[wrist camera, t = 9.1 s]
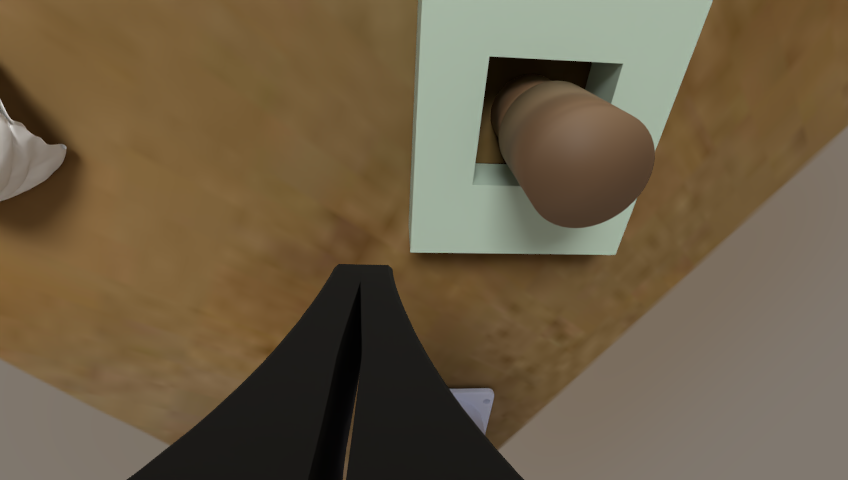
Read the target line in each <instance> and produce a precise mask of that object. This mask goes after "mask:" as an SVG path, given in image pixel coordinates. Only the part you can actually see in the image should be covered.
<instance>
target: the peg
mask: <svg viewBox="0 0 848 480" xmlns="http://www.w3.org/2000/svg"><path fill="white" fill-rule="evenodd" d="M491 123H492V126H493V129H494V131H495V133H496V134H497V136H498V137H499V147H500V151H501V154H502V156H503V158H504V160H505V162H506V163H507V165H508V167H509V168H510V170H511V171H512V173H513V175H514V176H515V178H516V179H517V181H518V183H519V184H520V186H521V187H522V189H523V190H524V192H525V194H526V195H527V197H528V198H529V200H530V202H531V203H532V205H533V206H534V208H535V210H536V211H537V212H538V213H539V214H540V215H541V216H542V217H543V218H544V219H546V220H547V221H549V222H551V223H553V224H555V225H558V226H561V227H567V228H585V227H590V226H594V225H597V224H600V223H603V222H605V221H608V220H610V219H611V218H613V217H615V216H617V215H618V214H620V213H621V212H622V211H624V210H625V209H626V208H628V207H629V206H630V205H631V204H632V203H633V202H634V201H635V200H636V198H637V197H638V196H639V195H640V194H641V192H642V191H643V189H644V188H645V186H646V184H647V182H648V180H649V178H650V176H651V173H652V170H653V166H654V160H655V149H654V142H653V139H652V136H651V134H650V132H649V131H648V129H647V128H646V126H645V125H644V124H643V123H642V122H641V121H640V120H639V119H637V118H636V117H634V116H632V115H631V114H629V113H627V112H625V111H623V110H621V109H620V108H618V107H616V106H614V105H612V104H610V103H609V102H607V101H605V100H603V99H601V98H599V97H598V96H596V95H594V94H592V93H590V92H588V91H587V90H585V89H583V88H581V87H579V86H577V85H575V84H573V83H570V82H566V81H551V80H549V79H548V78H546V77H544V76H541V75H537V74H526V75H522V76H519V77H516V78H514V79H512V80H511V81H509V82H508V83H507V84H506V85H504V86H503V88H502V89H501V90H500V91H499V92H498V94H497V96H496V97H495V100H494V102H493V105H492V109H491Z"/></svg>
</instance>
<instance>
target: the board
mask: <svg viewBox="0 0 848 480" xmlns="http://www.w3.org/2000/svg"><path fill="white" fill-rule="evenodd" d="M712 1H713V0H418V18H417V42H416V65H415V89H414V113H413V137H412V161H411V184H410V208H409V238H410V252H418V253H500V254H582V255H615V254H616V252H617V249H618V246H619V244H620V241H621V239H622V236H623V233H624V231H625V228H626V226H627V223H628V220H629V218H630V215H631V213H632V210H633V207H634V205H635V202H636V200H637V198H636V200H635V201H634V202H633V203H632V204H631V205H630V206H629V207H628V208H626V209H625V210H624V211H622V212H621V213H620V214H618V215H617V216H615V217H613V218H611V219H610V220H608V221H605V222H603V223H600V224H597V225H594V226H590V227H585V228H567V227H561V226H558V225H555V224H553V223H551V222H549V221H547V220H546V219H544V218H543V217H542V216H541V215H540V214H539V213H538V212H537V211H536V210H535V208H534V206H533V205H532V203H531V202H530V200H529V198H528V197H527V195H526V194H525V192H524V190H523V189H522V187H521V186H520V184H519V183H518V181H517V179H516V178H515V176H514V175H513V173H512V171H511V170H510V168H509V167H508V165H507V164H479V163H475V161H476V154H477V146H478V139H479V131H480V124H481V116H482V109H483V101H484V94H485V86H486V79H487V71H488V64H489V56H492V57H510V58H529V59H547V60H566V61H584V62H592V65H591V69H590V72H589V76H588V80H587V84H586V88H585V90H587V91H588V92H590V93H592V94H594V95H596V96H598V97H599V98H601V99H603V100H605V101H607V102H609V103H610V104H612V105H614V106H616V107H618V108H620V109H621V110H623V111H625V112H627V113H629V114H631V115H632V116H634V117H636V118H637V119H639V120H640V121H641V122H642V123H643V124H644V125H645V126H646V128H647V129H648V131H649V132H650V134H651V136H652V139H653V142H654V149H655V150H656V147H657V145H658V142H659V140H660V137H661V134H662V132H663V129H664V126H665V124H666V121H667V119H668V116H669V113H670V111H671V108H672V106H673V103H674V100H675V98H676V95H677V93H678V90H679V87H680V85H681V82H682V80H683V77H684V74H685V72H686V69H687V66H688V64H689V61H690V59H691V56H692V53H693V51H694V48H695V46H696V43H697V40H698V38H699V35H700V33H701V30H702V27H703V25H704V22H705V20H706V17H707V14H708V12H709V9H710V7H711V4H712Z"/></svg>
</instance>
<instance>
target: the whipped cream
mask: <svg viewBox="0 0 848 480" xmlns="http://www.w3.org/2000/svg"><path fill="white" fill-rule="evenodd" d="M66 149H67V148H66V146H65V145H64V144H57V145H48V144H46V143H45V142H44V141H43V140H42V138H40V137H37V136H35V135H33V134H32V133H30V132H29V131H28V130H27V129H26V127H25V126H24V125H23V124H22V123H21V122H17V121H13V120H12V119H11V118H10V117H9V116H8V114H7V112H6V110H5V108H4V106H3V104H2V102H1V100H0V201H2V200H6V199H9V198H12V197H14V196H16V195H19V194H21V193H23V192H25V191H27V190H30V189H31V188H33V187H35V186H37V185H38V184H40V183H42V182H43V181H45V180H46V179H47V178H49V177H50V176H51V175H52V174H53V172H54V171H56V170H57V169H58V168H59V167H60V165H61V164H62V163H63V161H64V158H65V155H66Z"/></svg>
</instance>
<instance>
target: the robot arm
mask: <svg viewBox="0 0 848 480" xmlns="http://www.w3.org/2000/svg"><path fill="white" fill-rule="evenodd" d="M359 374H360V376H359ZM358 380H359V384H358ZM357 385H358V393H357V401H356V409H355V417H354V425H353V433H352V440H351V448H350V455H349V462H348V470H347V477H346V480H524V479H523V478H522V477H521V476H520V475H519V474H518V473H517V472H516V471H515V470H514V468H513V467H512V466H511V465H510V464H509V463H508V462H507V461H506V460H505V458H503V456H502V455H501V454H500V453H499V452H498V450H497V449H496V448H495V447H494V446H493V445H492V444H491V442H490V441H489V440H488V439H487V437H486V436H485V433H486V429H487V424H488V420H489V416H490V412H491V408H492V404H493V400H494V392H493V390H492V389H490V388H465V389H449V388H448V387H447V385H446V384H445V382H444V381H443V379H442V378H441V376H440V375H439V373H438V371H437V370H436V368H435V367H434V365H433V363H432V362H431V360H430V358H429V357H428V355H427V353H426V352H425V350H424V348H423V346H422V344H421V342H420V341H419V339H418V337H417V335H416V333H415V331H414V329H413V327H412V325H411V323H410V320H409V318H408V316H407V314H406V312H405V310H404V307H403V305H402V302H401V300H400V297H399V294H398V291H397V288H396V285H395V281H394V277H393V271H392V268H391V267H389V266H388V265H353V264H339V265H337V266H336V267H335V268H334V270H333V272H332V273H331V275H330V277H329V278H328V280H327V282H326V283H325V285H324V286H323V288H322V289H321V291H320V292H319V294H318V295H317V297H316V298H315V300H314V301H313V302H312V304H311V305H310V306H309V308H308V309H307V310H306V312H305V313H304V314H303V316H302V317H301V319H300V320H299V321H298V322H297V324H296V325H295V326H294V327H293V329H292V330H291V331H290V332H289V333H288V334H287V336H286V337H285V338H284V339H283V340H282V342H281V343H280V344H279V345H278V346H277V347H276V349H275V350H274V351H273V352H272V353H271V354H270V355H269V356H268V357H267V358H266V360H265V361H264V362H263V363H262V364H261V365H260V366H259V367H258V368H257V369H256V370H255V371H254V372H253V373H252V374H251V375H250V376H249V377H248V378H247V379H246V380H245V381H244V382H243V383H242V384H241V385H240V386H239V387H238V388H237V389H236V390H235V391H234V392H232V393H231V394H230V395H229V396H228V397H227V398H226V399H225V400H224V401H223V402H222V403H221V404H219V405H218V406H217V407H216V408H215V409H214V410H213V411H212V412H211V413H209V414H208V415H207V416H206V417H205V418H204V419H203V420H201V421H200V422H199V423H198V424H197V425H196V426H194V427H193V428H192V429H191V430H190V431H188V432H187V433H186V434H185V435H183V436H182V437H181V438H180V439H178V440H177V441H176V442H174V443H173V444H172V445H171V446H169V447H168V448H167V449H166V450H164V451H163V452H162V453H161V454H159V455H158V456H157V457H156V458H155V459H153V460H152V461H151V462H149V463H148V464H147V465H146V466H144V467H143V468H142V469H141V470H139V471H138V472H137V473H135V474H134V475H132V476H131V477H130V478H128V479H127V480H343V470H344V462H345V455H346V447H347V442H348V436H349V430H350V425H351V419H352V414H353V408H354V402H355V397H356V391H357Z"/></svg>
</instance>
